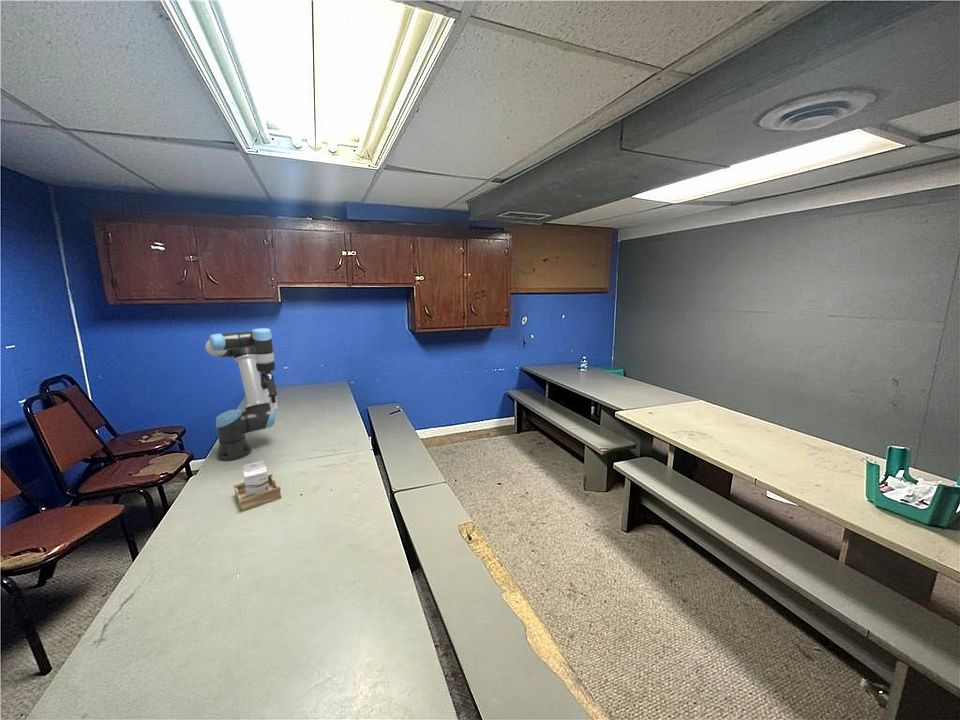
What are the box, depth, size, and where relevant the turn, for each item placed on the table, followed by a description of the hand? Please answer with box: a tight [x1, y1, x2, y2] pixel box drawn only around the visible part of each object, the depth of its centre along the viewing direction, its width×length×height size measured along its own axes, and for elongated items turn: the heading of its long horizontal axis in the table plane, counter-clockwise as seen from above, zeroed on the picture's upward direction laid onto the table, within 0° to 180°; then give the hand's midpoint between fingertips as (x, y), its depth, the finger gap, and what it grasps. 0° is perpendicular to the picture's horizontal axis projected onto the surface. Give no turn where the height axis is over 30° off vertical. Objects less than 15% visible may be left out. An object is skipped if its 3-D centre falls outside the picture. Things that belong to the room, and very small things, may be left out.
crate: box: [233, 473, 282, 513], centre depth 157 cm, size 15×15×5 cm
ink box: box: [242, 460, 269, 497], centre depth 156 cm, size 8×5×15 cm, turn 127°
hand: (270, 405), depth 175 cm, fingers open, 13 cm apart
